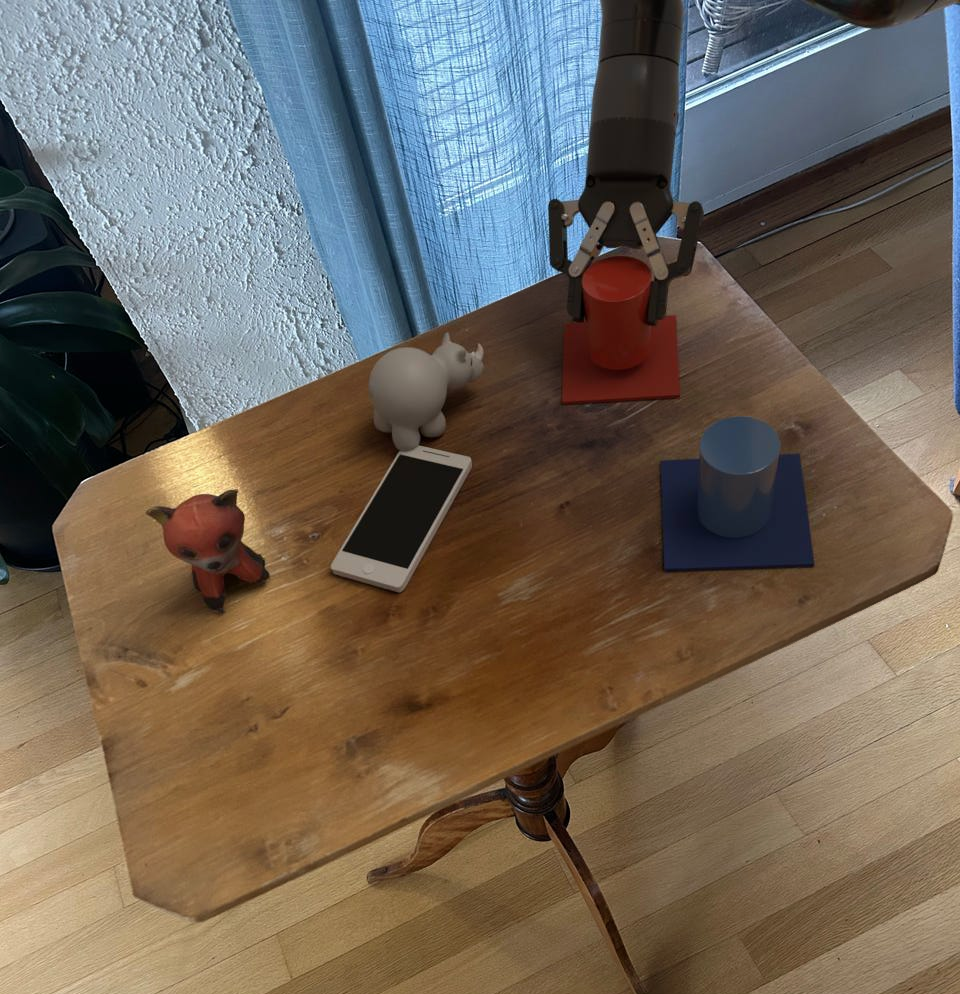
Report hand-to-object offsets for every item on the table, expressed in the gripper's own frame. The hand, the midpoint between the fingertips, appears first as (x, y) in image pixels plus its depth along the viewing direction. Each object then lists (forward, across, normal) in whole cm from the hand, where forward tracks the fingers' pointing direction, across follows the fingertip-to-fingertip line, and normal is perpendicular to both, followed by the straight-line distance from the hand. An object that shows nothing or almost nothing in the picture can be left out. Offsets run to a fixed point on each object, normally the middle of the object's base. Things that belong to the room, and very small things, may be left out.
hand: (615, 323), depth 94 cm
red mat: (+3, 0, +5) cm, 6 cm away
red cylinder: (+2, 0, +4) cm, 5 cm away
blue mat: (+16, +13, -7) cm, 21 cm away
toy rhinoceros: (+10, -16, -1) cm, 19 cm away
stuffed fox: (+24, -30, -15) cm, 41 cm away
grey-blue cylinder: (+15, +13, -7) cm, 21 cm away
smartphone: (+18, -16, -10) cm, 26 cm away
